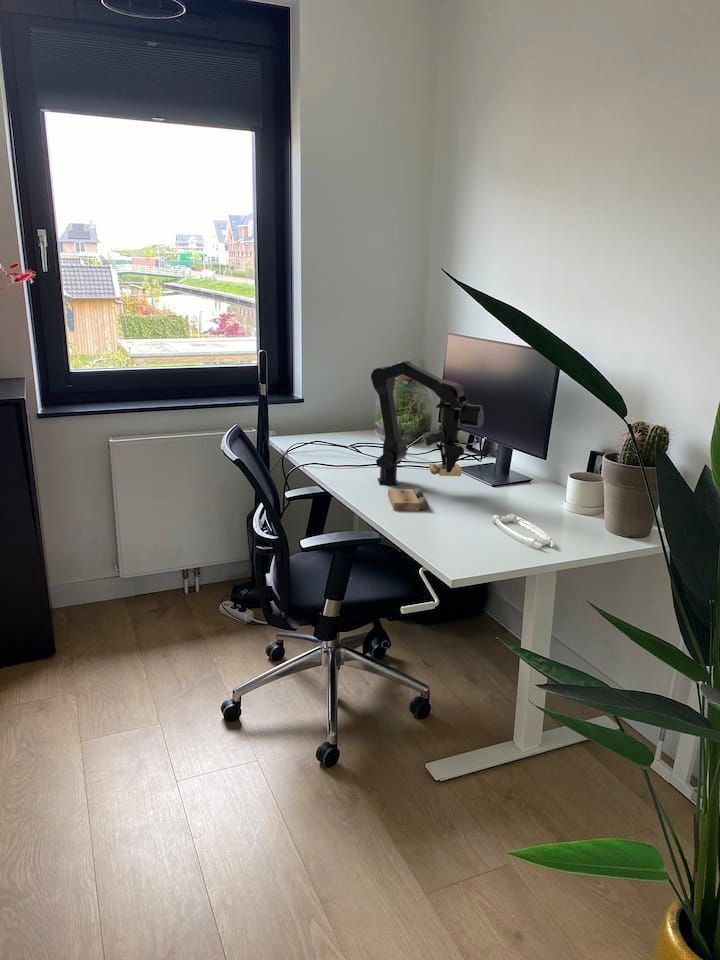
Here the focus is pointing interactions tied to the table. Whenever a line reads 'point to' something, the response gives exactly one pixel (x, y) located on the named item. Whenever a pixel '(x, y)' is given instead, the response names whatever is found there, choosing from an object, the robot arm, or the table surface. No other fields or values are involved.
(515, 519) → the door handle
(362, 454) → the table surface
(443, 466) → the tan knobbed block
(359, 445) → the table surface
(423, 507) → the tan flat piece
